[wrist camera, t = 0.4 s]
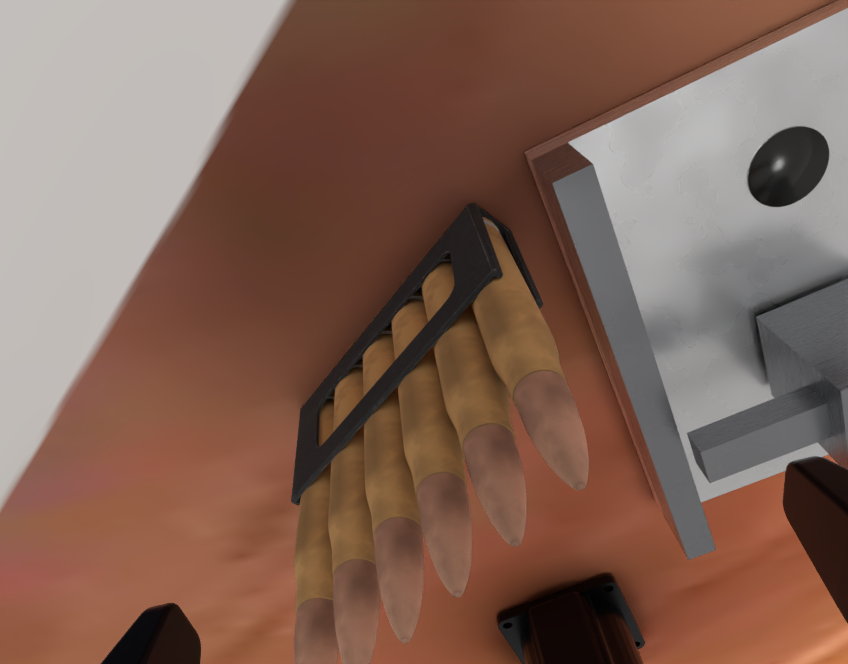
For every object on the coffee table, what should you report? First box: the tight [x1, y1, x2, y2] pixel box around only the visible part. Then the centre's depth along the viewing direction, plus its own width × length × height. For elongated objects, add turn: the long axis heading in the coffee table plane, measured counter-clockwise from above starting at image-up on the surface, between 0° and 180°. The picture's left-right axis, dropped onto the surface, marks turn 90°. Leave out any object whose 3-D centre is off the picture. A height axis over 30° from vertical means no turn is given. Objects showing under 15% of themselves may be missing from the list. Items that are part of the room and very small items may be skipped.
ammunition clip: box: [291, 203, 589, 664], centre depth 18 cm, size 11×2×12 cm, turn 142°
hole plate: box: [524, 0, 848, 560], centre depth 22 cm, size 18×13×3 cm
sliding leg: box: [687, 279, 848, 483], centre depth 21 cm, size 4×8×5 cm, turn 115°
